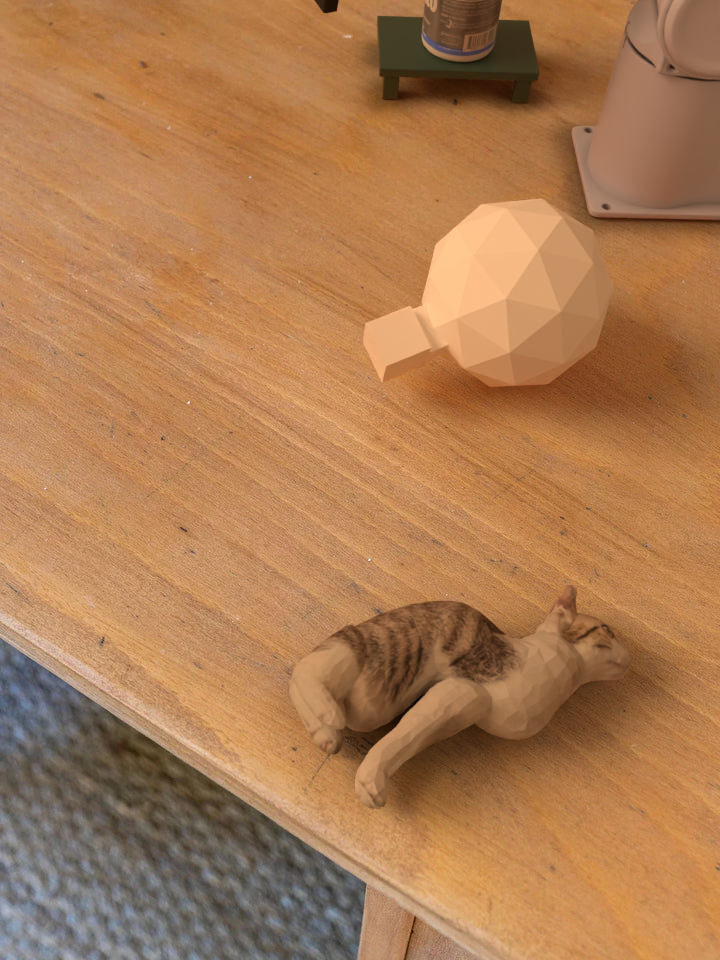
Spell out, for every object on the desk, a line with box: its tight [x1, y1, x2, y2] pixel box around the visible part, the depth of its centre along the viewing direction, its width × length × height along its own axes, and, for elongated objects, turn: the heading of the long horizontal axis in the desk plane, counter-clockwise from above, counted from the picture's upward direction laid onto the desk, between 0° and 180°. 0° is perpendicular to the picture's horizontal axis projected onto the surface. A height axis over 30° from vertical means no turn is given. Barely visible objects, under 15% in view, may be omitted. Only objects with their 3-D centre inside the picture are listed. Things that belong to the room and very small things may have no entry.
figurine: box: [287, 584, 633, 810], centre depth 36 cm, size 4×16×15 cm
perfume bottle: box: [362, 198, 615, 388], centre depth 45 cm, size 9×9×12 cm
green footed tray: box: [376, 15, 540, 104], centre depth 61 cm, size 10×6×2 cm, turn 91°
